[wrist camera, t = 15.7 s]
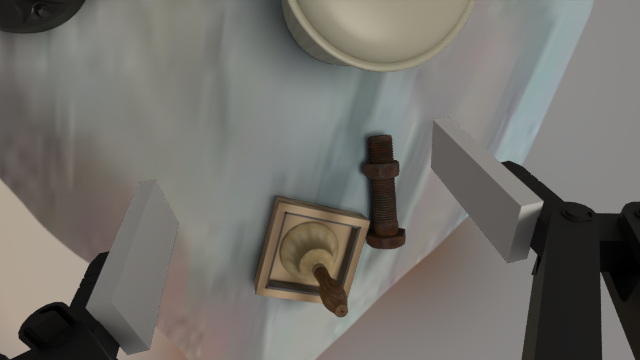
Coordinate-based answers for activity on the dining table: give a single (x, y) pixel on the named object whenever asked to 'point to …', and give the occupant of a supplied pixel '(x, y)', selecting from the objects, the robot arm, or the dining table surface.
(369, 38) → the canister
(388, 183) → the bolt
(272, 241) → the square tray
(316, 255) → the hand bell
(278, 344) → the dining table surface
